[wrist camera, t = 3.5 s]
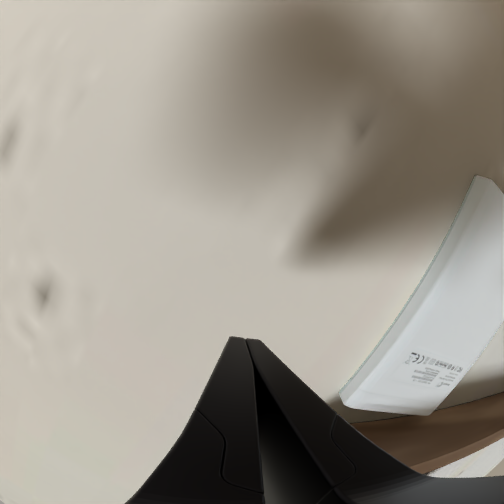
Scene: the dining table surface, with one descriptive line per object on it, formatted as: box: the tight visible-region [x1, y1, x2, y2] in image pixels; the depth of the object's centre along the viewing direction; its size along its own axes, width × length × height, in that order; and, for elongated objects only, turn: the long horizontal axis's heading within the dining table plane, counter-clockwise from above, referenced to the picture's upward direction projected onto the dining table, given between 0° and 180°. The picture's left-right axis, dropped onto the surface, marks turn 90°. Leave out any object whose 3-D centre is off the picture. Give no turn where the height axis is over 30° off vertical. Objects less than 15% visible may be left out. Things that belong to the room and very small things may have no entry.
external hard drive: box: [339, 175, 504, 416], centre depth 13 cm, size 2×8×12 cm
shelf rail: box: [350, 392, 504, 474], centre depth 16 cm, size 2×31×4 cm, turn 77°
